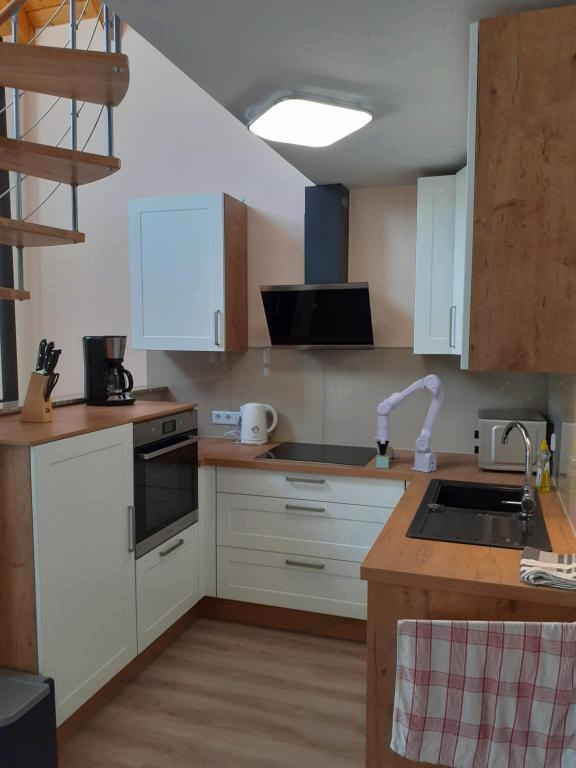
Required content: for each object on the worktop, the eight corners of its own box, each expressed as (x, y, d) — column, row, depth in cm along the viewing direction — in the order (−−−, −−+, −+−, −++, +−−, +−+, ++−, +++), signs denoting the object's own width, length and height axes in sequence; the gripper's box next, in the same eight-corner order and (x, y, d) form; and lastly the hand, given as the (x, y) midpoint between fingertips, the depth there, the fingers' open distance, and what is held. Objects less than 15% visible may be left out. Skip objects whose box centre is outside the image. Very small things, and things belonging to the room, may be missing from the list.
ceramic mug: (380, 460, 300) (380, 444, 299) (376, 456, 308) (377, 441, 307) (401, 460, 301) (401, 445, 300) (396, 457, 309) (397, 442, 308)
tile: (375, 467, 282) (376, 455, 281) (388, 468, 281) (389, 455, 280) (375, 468, 280) (376, 455, 279) (388, 469, 279) (389, 456, 278)
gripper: (375, 425, 290) (374, 453, 291) (374, 429, 276) (373, 459, 277) (389, 425, 289) (389, 453, 290) (389, 430, 275) (389, 459, 276)
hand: (382, 456), depth 283 cm, fingers closed
